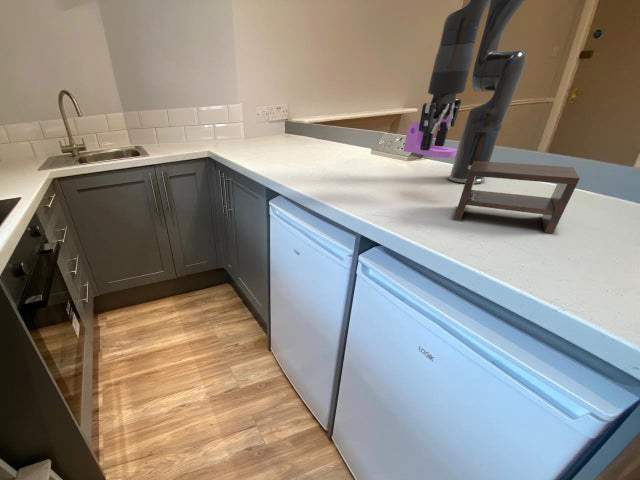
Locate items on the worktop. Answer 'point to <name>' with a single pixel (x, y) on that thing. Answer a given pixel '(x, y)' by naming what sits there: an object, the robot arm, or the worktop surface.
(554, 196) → the shelf
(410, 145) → the bracket
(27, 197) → the worktop surface
